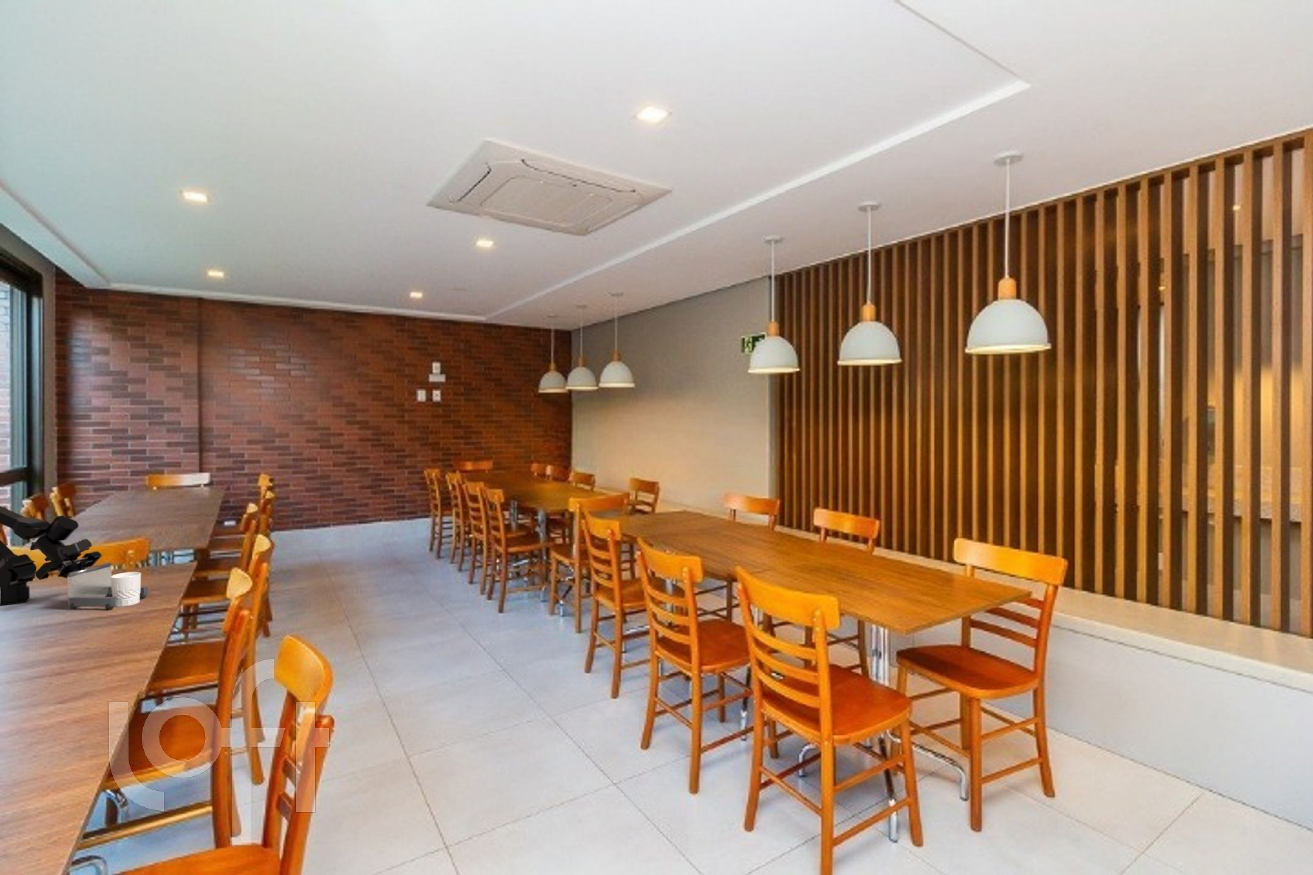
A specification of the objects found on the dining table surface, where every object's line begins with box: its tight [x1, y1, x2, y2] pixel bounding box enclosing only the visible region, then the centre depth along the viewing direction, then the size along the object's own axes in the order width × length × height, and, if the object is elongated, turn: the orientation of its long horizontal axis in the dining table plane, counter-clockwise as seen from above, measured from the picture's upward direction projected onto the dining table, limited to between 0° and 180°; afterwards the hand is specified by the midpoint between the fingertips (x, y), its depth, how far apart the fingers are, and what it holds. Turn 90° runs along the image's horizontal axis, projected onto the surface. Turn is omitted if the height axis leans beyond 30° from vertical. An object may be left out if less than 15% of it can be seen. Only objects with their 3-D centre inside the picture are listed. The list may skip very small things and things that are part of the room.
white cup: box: [111, 571, 142, 608], centre depth 211 cm, size 8×8×10 cm
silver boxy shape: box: [66, 562, 149, 610], centre depth 211 cm, size 15×15×12 cm
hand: (87, 582), depth 211 cm, fingers closed, pressing on silver boxy shape
